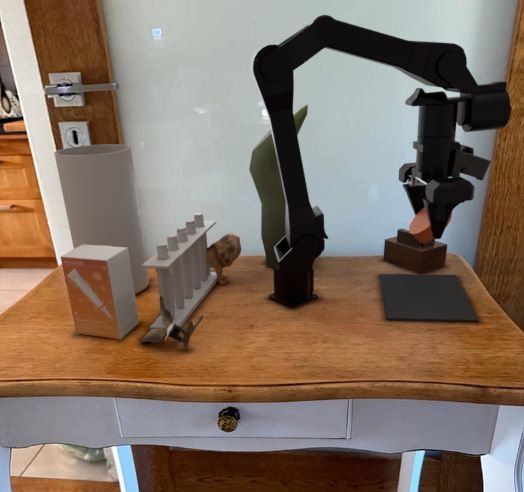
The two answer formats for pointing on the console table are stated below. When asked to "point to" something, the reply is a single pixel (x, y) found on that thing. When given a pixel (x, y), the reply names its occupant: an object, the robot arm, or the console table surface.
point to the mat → (425, 298)
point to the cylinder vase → (103, 201)
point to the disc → (422, 227)
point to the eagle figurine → (171, 328)
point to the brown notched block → (414, 252)
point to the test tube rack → (183, 270)
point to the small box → (101, 290)
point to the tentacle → (271, 190)
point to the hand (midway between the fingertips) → (429, 232)
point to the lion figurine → (223, 254)
